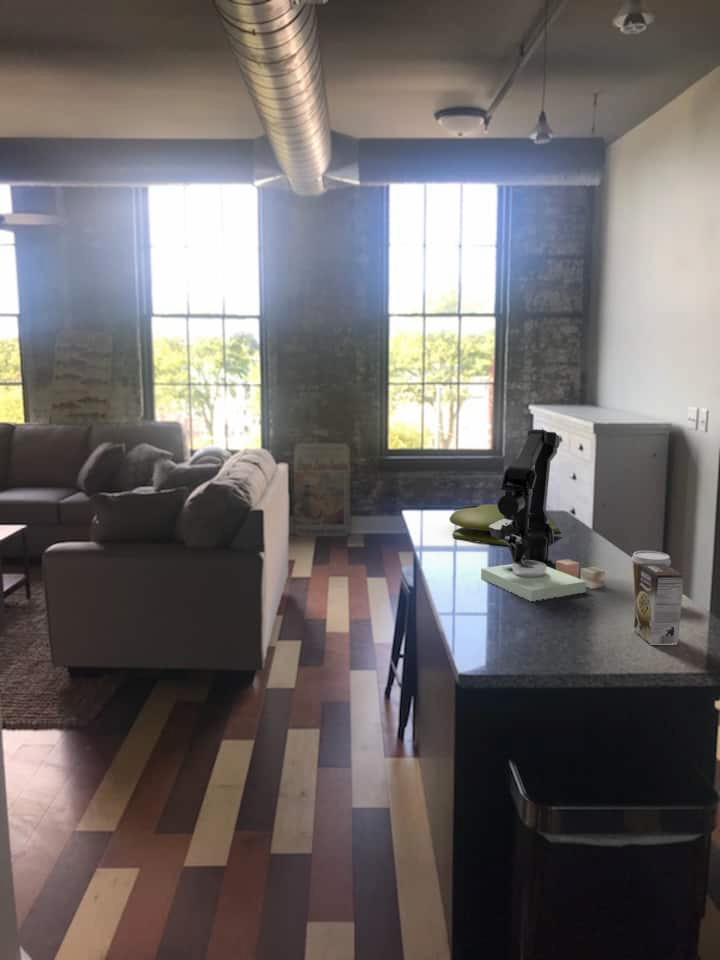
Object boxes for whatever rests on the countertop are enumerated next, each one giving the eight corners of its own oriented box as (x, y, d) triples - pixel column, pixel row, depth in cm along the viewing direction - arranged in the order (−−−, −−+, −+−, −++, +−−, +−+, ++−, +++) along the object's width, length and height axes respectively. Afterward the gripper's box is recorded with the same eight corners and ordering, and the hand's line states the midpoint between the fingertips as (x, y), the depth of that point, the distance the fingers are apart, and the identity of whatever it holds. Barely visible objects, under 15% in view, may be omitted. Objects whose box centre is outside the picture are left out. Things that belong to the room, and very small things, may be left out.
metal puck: (531, 567, 214) (532, 558, 213) (552, 575, 206) (553, 566, 205) (505, 571, 210) (505, 562, 209) (526, 579, 202) (526, 570, 201)
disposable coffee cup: (667, 596, 198) (670, 552, 196) (669, 608, 189) (672, 561, 187) (628, 592, 201) (631, 548, 199) (628, 604, 192) (631, 558, 190)
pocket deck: (532, 570, 221) (532, 560, 220) (585, 592, 201) (586, 581, 201) (481, 578, 213) (481, 568, 212) (531, 601, 193) (531, 590, 193)
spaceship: (561, 532, 270) (563, 505, 268) (531, 551, 244) (533, 521, 242) (470, 520, 288) (471, 495, 286) (434, 537, 262) (434, 509, 261)
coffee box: (632, 631, 173) (636, 562, 170) (659, 630, 174) (664, 562, 171) (650, 646, 164) (655, 574, 161) (679, 645, 165) (684, 574, 162)
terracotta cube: (567, 574, 218) (568, 559, 217) (578, 578, 214) (579, 563, 213) (555, 576, 216) (555, 561, 215) (566, 580, 212) (566, 565, 211)
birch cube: (592, 582, 210) (593, 566, 210) (604, 586, 206) (605, 570, 206) (579, 584, 208) (580, 568, 208) (591, 589, 204) (592, 572, 204)
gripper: (475, 505, 215) (473, 559, 217) (515, 519, 198) (513, 576, 201) (507, 502, 219) (505, 555, 222) (549, 515, 203) (546, 571, 205)
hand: (516, 564), depth 212 cm, fingers closed
